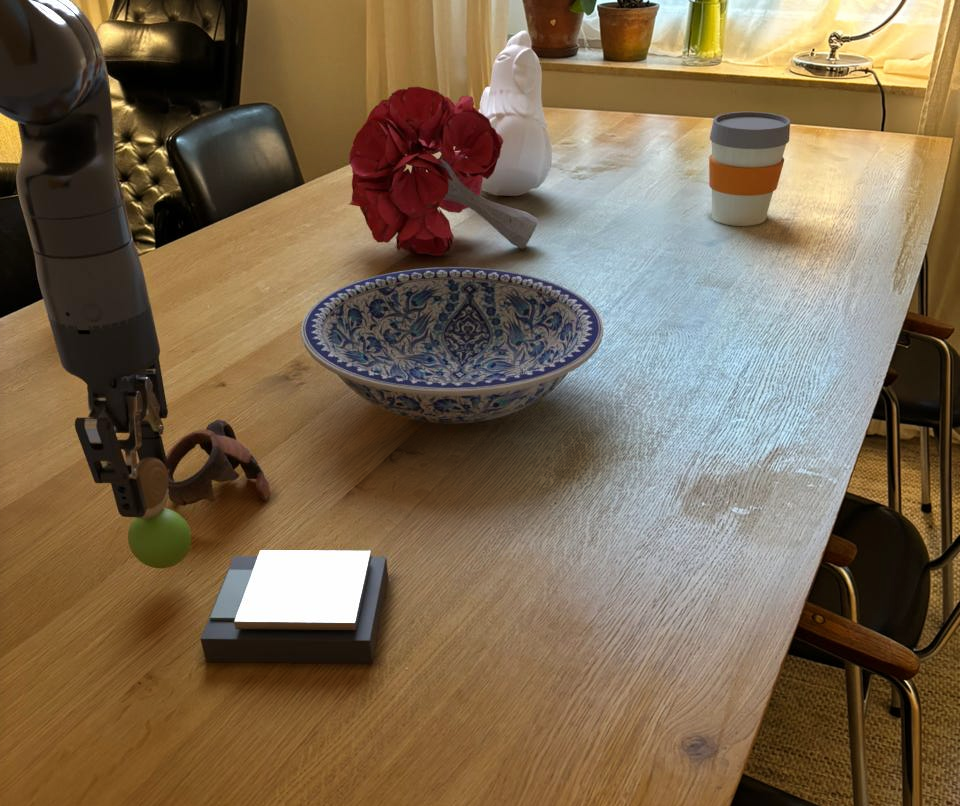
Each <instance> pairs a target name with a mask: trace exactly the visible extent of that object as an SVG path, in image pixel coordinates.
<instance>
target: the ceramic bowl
mask: <svg viewBox="0 0 960 806" xmlns="http://www.w3.org/2000/svg"><path fill="white" fill-rule="evenodd" d="M300 336H301V340H302V343H303V345H304V348H305V350H306V351H307V352H308V354H309V356H311V358H312V359H313V360H315V361H316V362H317V364H319V365H320V366H322V367H324V368H325V369H326V370H328V371H329V372H332V373H333V374H335V375H337V376H338V377H339V379H341V381H342V382H343V383H345V385H346V386H347V387H348V388H350V390H352V391H353V392H355V394H357V395H358V396H360V397H361V398H362V399H364V400H366V401H367V402H369V403H370V404H372V405H374V406H376V407H377V408H380V409H382V410H384V411H386V412H389V413H391V414H394V415H397V416H399V417H402V418H403V417H404V418H407V419H410V420H414V421H415V420H416V421H420V422H426V423H435V424H469V423H478V422H479V423H480V422H483V421H484V422H485V421H490V420H495V419H499V418H503V417H504V416H508V415H511V414H514V413H516V412H518V411H519V412H520V411H521V410H523V409H525V408H528V407H529V406H531V405H533V404H535V403H536V402H538V401H539V400H541V399H542V398H545V396H546V395H548V394H549V393H550V392H551V391H553V390H554V389H555V388H557V386H558V385H559V384H560V383H562V381H563V380H564V379H565V378H566V377H567V375H568V374H569V373H571V372H573V371H574V370H576V369H578V368H579V367H581V366H582V365H584V364H585V363H586V362H587V361H588V360H589V359H591V358H592V357H593V356H594V355H595V353H596V352H597V351H598V350H599V347H600V345H601V344H602V340H603V336H604V325H603V319H602V318H601V316H600V314H599V312H598V311H597V309H596V308H595V307H594V306H593V305H592V304H591V303H590V302H589V301H587V299H586V298H584V297H582V296H581V295H579V294H578V293H576V292H575V291H574V290H573V291H572V290H571V289H569V288H567V287H564V286H563V285H560V284H558V283H555V282H552V281H549V280H546V279H544V278H541V277H537V276H532V275H530V274H529V275H528V274H524V273H518V272H514V271H509V270H503V269H493V268H486V267H485V268H484V267H483V268H482V267H471V266H469V267H468V266H467V267H465V266H442V267H441V266H440V267H439V266H438V267H424V268H423V267H422V268H414V269H407V270H399V271H393V272H388V273H383V274H378V275H374V276H371V277H370V276H369V277H368V278H364V279H360V280H357V281H354V282H351V283H349V284H346V285H344V286H341V287H340V288H338V289H336V290H333V291H332V292H329V293H328V294H327V295H325V296H323V297H322V298H321V299H320V300H318V301H317V302H315V304H313V305H312V306H311V308H310V309H309V310H308V311H307V312H306V314H305V316H304V317H303V320H302V323H301V329H300Z"/></svg>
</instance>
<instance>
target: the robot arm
mask: <svg viewBox="0 0 960 806" xmlns="http://www.w3.org/2000/svg"><path fill="white" fill-rule="evenodd" d="M100 41H101V40H100V38H99V36H98V34H97V31H96V29H95V28H94V25H93V24H92V22H91V21H90V19H89V18H88V17H87V15H86V14H85V13H84V12H83V10H82V9H81V8H80V7H79V6H78V5H77V4H76V3H74V2H73V0H0V114H1V115H2V116H4V117H6V118H8V119H9V120H11V121H14V122H15V123H17V128H18V133H19V138H20V143H21V154H20V155H21V156H20V160H19V163H18V166H17V169H16V175H15V176H16V177H15V181H16V182H15V183H16V188H17V196H18V200H19V203H20V207H21V210H22V215H23V218H24V221H25V225H26V228H27V232H28V236H29V239H30V243H31V247H32V250H33V255H34V261H35V268H36V276H37V280H38V284H39V289H40V292H41V297H42V300H43V303H44V308H45V310H46V313H47V318H48V322H49V325H50V328H51V332H52V335H53V339H54V342H55V346H56V350H57V353H58V357H59V359H60V360H59V362H60V365H61V366H62V368H63V369H64V370H65V371H66V372H67V373H69V374H70V375H72V376H74V377H77V378H79V379H80V380H82V381H83V382H84V383H85V385H86V390H87V408H88V411H89V414H88V416H86V417H76V418H75V420H74V428H75V429H74V430H75V432H76V435H77V438H78V440H79V443H80V446H81V448H82V451H83V454H84V457H85V459H86V462H87V465H88V468H89V470H90V473H91V476H92V479H93V481H94V483H95V484H110V485H111V490H112V493H113V497H114V500H115V504H116V508H117V512H118V514H119V515H120V516H121V517H122V518H123V517H124V518H136V517H143V516H144V515H145V513H146V511H147V506H146V502H145V498H144V494H143V490H142V486H141V482H140V478H139V474H138V470H137V464H138V463H139V462H140V461H141V460H143V459H144V458H147V457H155V458H157V459H159V460H160V461H162V462H163V464H164V465H165V467H166V469H167V472H168V470H169V468H168V463H167V459H166V456H167V454H166V450H165V446H164V442H163V438H162V435H163V434H164V430H165V427H164V423H163V420H162V419H167V418H168V414H169V410H168V405H167V399H166V398H167V397H166V392H165V386H164V381H163V375H162V368H161V362H160V355H161V347H160V342H159V338H158V332H157V328H156V324H155V320H154V315H153V314H154V313H153V310H152V309H153V308H152V305H151V301H150V296H149V291H148V286H147V282H146V278H145V277H146V276H145V273H144V269H143V265H142V262H141V259H140V256H139V254H138V251H137V248H136V245H135V242H134V238H133V234H132V228H131V224H130V220H129V215H128V214H129V213H128V210H127V206H126V201H125V195H124V193H123V192H124V191H123V188H122V186H121V185H122V184H121V182H120V178H119V175H118V169H117V161H116V143H115V126H114V115H113V103H112V95H111V94H112V93H111V86H110V85H111V84H110V78H109V72H108V67H107V63H106V58H105V54H104V51H103V47H102V44H101V42H100ZM117 434H129V435H128V437H127V438H126V439H125V438H124V439H121V438H118V436H117ZM122 450H123V451H124V454H123V451H122ZM124 456H125V457H124ZM137 457H138V459H137Z"/></svg>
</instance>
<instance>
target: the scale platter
mask: <svg viewBox="0 0 960 806" xmlns="http://www.w3.org/2000/svg"><path fill="white" fill-rule="evenodd" d="M257 556H258V557H257V560H256V563H255V566H254V568H253V571H252V574H251V577H250V579H249V582H248V585H247V588H246V590H245V593H244V596H243V598H242V601H241V604H240V607H239V609H238V612H237V615H236V618H235V620H234V624H235V629H276V630H356V628H357V623H358V619H359V614H360V609H361V605H362V600H363V595H364V591H365V586H366V581H367V577H368V572H369V567H370V563H371V557H372V551H371V550H298V549H297V550H291V549H289V550H288V549H287V550H286V549H284V550H280V549H277V550H276V549H275V550H272V549H261V550H259V552H258V555H257Z"/></svg>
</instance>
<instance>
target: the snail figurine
mask: <svg viewBox="0 0 960 806" xmlns="http://www.w3.org/2000/svg"><path fill="white" fill-rule="evenodd" d="M137 470H138V474H139V478H140V482H141V486H142V490H143V494H144V498H145V502H146V506H147V511H146V513H145V515H144V516H143V517H134V519H133V520H132V522H131V523H130V525H129V528H128V532H127V542H128V546H129V549H130V551H131V552H132V554H133V556H134V557H135V558H136V559H137V560H138V561H139V562H140V563H142V564H143V565H145V566H147V567H149V568H153V569H167V568H171V567H174V566H176V565H178V564H180V563H181V562H182V561H183V560H184V559H185V558H186V557H187V556H188V554H189V552H190V549H191V546H192V532H191V529H190V525H189V524H188V522H187V521H186V519H185V518H184V517H183V516H182V515H180V514H179V513H178V512H176V511H174V510H172V509H170V508H166V505H167V503H168V499H169V491H168V483H169V478H168V472H167V469H166V467H165V465H164V464H163V462H162V461H160V460H159V459H157V458H155V457H147V458H144V459H143V460H141V461H140V462H139V461H138V462H137Z"/></svg>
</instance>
